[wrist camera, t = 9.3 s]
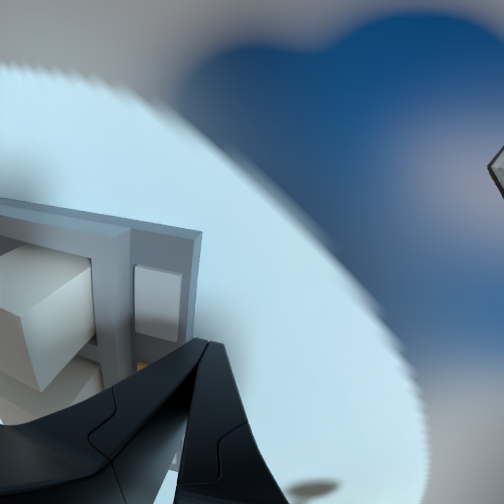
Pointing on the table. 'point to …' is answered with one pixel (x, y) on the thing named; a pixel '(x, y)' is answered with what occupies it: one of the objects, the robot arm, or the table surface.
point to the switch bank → (120, 281)
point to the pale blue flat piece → (498, 170)
